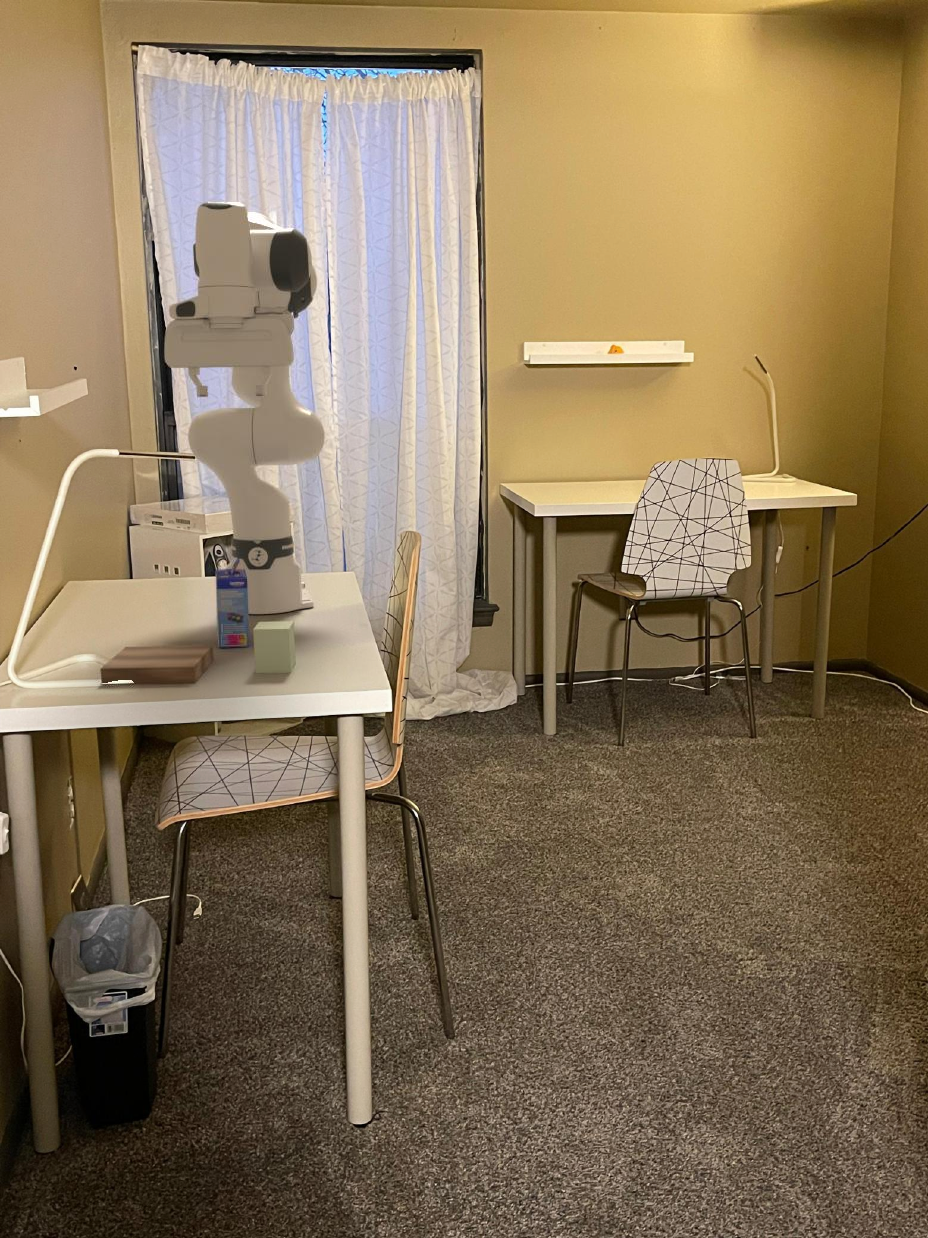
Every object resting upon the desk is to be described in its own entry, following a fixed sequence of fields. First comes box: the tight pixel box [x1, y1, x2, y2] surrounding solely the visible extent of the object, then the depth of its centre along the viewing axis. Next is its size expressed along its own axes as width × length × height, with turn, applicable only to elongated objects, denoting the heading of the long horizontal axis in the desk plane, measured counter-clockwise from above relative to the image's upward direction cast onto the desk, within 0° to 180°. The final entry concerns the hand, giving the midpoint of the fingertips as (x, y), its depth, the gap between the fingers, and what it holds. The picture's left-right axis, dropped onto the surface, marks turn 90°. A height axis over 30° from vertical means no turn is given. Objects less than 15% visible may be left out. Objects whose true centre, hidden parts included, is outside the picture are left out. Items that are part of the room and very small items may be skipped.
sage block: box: [252, 620, 297, 674], centre depth 182 cm, size 6×6×7 cm
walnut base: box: [99, 644, 214, 685], centre depth 181 cm, size 14×14×2 cm
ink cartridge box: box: [214, 557, 250, 649], centre depth 199 cm, size 10×6×14 cm, turn 13°
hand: (232, 396), depth 186 cm, fingers open, 8 cm apart
